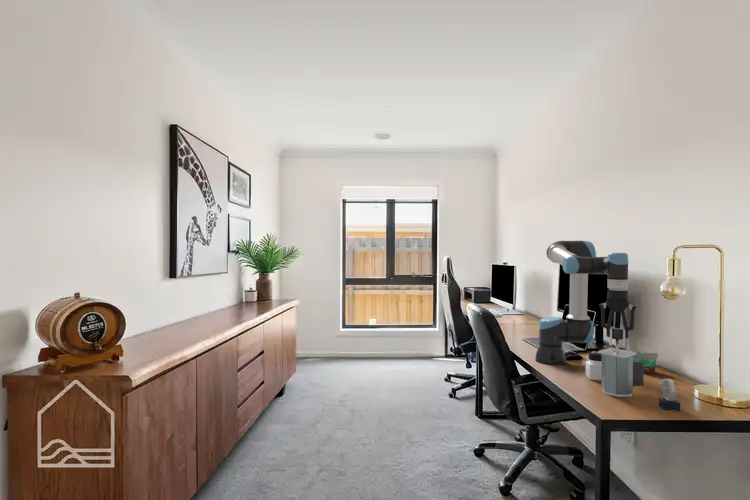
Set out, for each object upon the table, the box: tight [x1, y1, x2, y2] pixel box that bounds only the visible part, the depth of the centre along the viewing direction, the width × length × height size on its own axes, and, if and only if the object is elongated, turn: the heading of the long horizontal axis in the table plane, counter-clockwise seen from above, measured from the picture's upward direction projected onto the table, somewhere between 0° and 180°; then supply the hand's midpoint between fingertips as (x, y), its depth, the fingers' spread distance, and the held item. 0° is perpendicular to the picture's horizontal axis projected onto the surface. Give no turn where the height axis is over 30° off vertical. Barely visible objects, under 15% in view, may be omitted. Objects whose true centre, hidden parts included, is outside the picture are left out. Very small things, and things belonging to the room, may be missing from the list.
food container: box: [630, 349, 659, 375], centre depth 214 cm, size 12×6×10 cm, turn 73°
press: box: [597, 347, 645, 399], centre depth 183 cm, size 16×12×17 cm
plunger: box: [611, 327, 624, 352], centre depth 182 cm, size 9×9×23 cm
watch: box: [658, 378, 681, 412], centre depth 165 cm, size 6×8×11 cm
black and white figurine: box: [585, 351, 602, 382], centre depth 203 cm, size 7×7×12 cm
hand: (617, 345), depth 182 cm, fingers open, 4 cm apart
